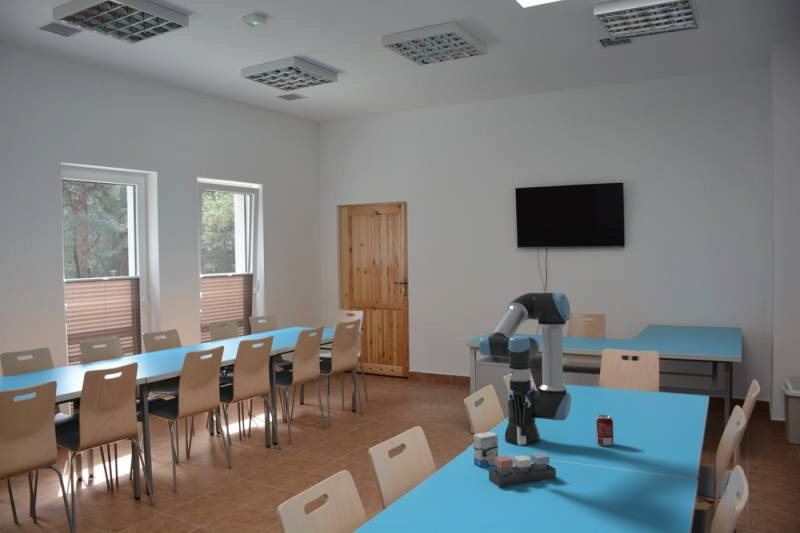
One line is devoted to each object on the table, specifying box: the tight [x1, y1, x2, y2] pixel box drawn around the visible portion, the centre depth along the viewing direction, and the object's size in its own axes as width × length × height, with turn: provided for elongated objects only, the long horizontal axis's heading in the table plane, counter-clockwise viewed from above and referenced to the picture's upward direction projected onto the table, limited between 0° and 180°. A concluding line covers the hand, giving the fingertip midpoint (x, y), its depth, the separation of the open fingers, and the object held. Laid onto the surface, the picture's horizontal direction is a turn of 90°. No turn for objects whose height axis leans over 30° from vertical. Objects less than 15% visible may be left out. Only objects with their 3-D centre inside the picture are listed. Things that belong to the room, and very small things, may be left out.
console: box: [488, 463, 557, 489], centre depth 224 cm, size 23×8×4 cm, turn 109°
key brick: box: [494, 455, 514, 476], centre depth 222 cm, size 5×5×5 cm
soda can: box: [595, 414, 614, 448], centre depth 261 cm, size 7×7×12 cm
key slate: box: [530, 452, 550, 470], centre depth 227 cm, size 5×5×5 cm
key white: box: [512, 454, 532, 473], centre depth 224 cm, size 5×5×5 cm
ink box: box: [473, 431, 499, 468], centre depth 241 cm, size 8×5×12 cm, turn 117°
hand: (521, 443), depth 224 cm, fingers closed
